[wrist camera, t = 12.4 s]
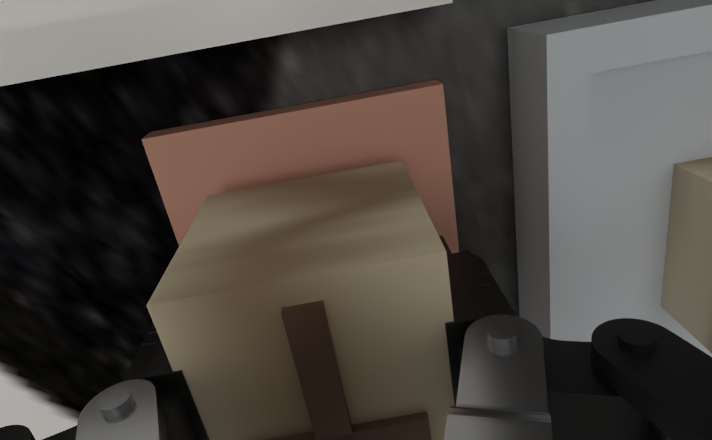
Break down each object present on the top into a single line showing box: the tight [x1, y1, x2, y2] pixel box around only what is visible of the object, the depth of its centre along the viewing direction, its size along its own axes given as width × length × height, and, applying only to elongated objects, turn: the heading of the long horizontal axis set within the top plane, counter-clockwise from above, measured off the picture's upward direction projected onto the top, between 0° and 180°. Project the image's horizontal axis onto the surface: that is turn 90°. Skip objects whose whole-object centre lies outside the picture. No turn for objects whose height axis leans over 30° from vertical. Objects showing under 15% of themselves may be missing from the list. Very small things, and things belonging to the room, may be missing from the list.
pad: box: [141, 79, 459, 253], centre depth 15 cm, size 8×8×1 cm
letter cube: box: [146, 160, 454, 440], centre depth 12 cm, size 5×5×5 cm
